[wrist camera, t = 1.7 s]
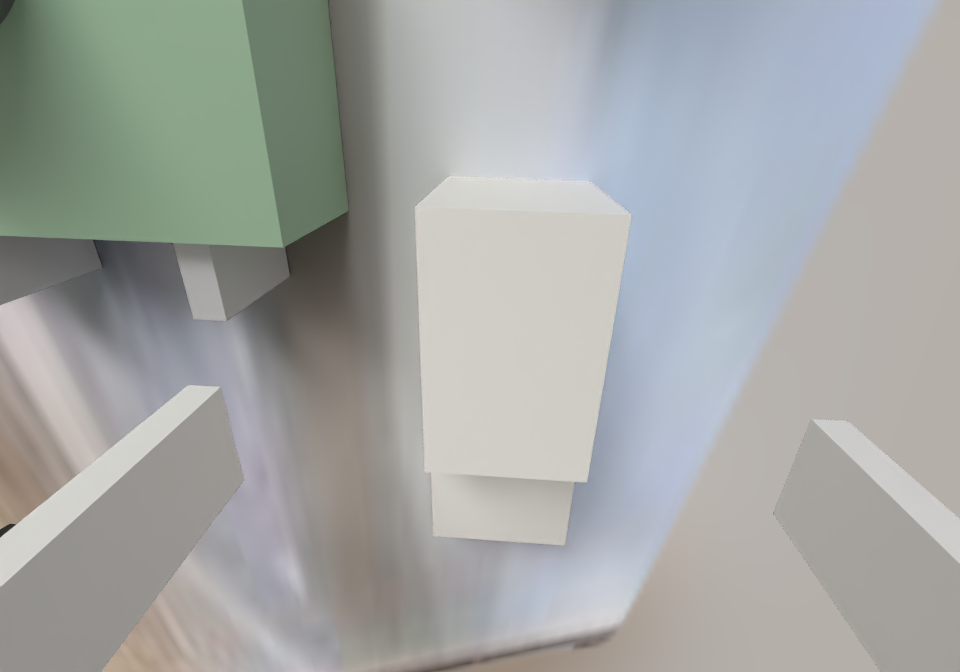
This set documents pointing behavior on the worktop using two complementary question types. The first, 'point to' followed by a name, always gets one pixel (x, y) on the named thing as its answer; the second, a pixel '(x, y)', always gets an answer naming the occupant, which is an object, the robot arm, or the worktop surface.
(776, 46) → the worktop surface
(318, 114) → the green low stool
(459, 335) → the stepped white pillar
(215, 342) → the worktop surface
